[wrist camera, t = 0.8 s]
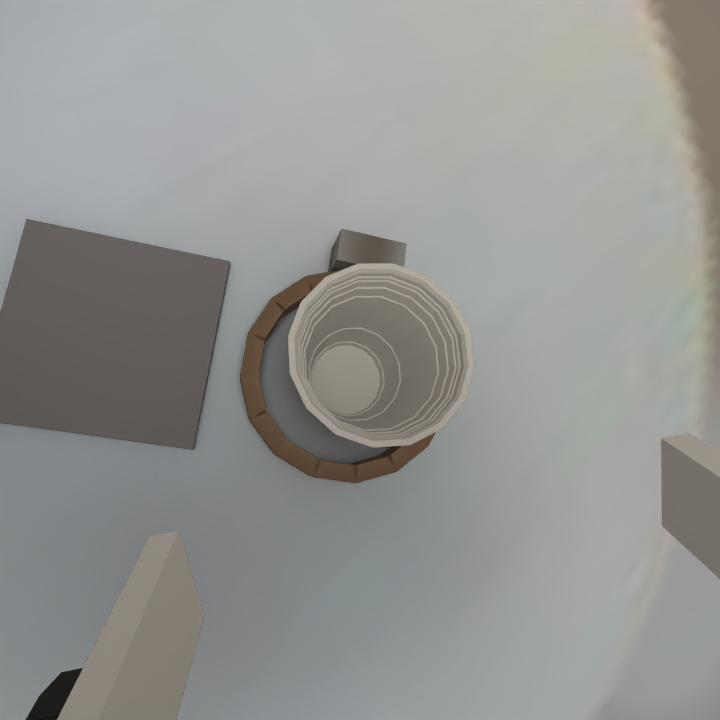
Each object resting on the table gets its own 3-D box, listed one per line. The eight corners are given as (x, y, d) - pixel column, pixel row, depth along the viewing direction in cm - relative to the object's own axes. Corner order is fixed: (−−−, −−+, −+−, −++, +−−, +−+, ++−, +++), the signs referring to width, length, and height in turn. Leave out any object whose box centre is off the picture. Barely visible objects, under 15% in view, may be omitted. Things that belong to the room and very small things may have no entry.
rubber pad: (-24, 419, 36) (-29, 418, 35) (30, 223, 38) (26, 219, 38) (193, 449, 38) (192, 449, 38) (229, 265, 41) (229, 261, 40)
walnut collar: (224, 463, 39) (223, 465, 35) (267, 233, 42) (270, 212, 38) (426, 491, 42) (445, 495, 38) (451, 274, 45) (471, 258, 41)
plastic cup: (357, 283, 43) (401, 223, 32) (437, 392, 43) (510, 372, 32) (244, 361, 40) (247, 325, 29) (329, 477, 40) (367, 490, 29)
